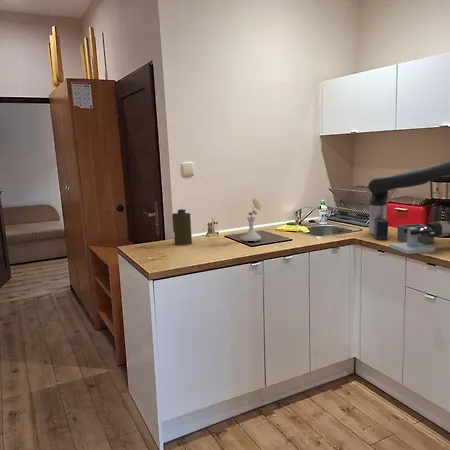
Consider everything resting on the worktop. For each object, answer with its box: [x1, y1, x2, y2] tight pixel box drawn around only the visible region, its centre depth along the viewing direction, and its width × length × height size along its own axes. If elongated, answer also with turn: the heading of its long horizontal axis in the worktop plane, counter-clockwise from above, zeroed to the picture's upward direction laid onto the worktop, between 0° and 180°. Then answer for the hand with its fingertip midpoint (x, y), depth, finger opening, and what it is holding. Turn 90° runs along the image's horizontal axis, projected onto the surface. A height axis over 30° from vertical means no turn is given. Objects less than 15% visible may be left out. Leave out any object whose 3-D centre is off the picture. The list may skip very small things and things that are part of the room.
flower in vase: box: [241, 197, 262, 242], centre depth 247 cm, size 13×11×25 cm
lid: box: [389, 227, 436, 255], centre depth 213 cm, size 15×15×11 cm
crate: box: [396, 223, 435, 244], centre depth 231 cm, size 13×13×8 cm
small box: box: [373, 218, 389, 241], centre depth 242 cm, size 11×6×10 cm, turn 168°
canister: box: [171, 208, 193, 247], centre depth 248 cm, size 11×10×20 cm
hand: (407, 231), depth 212 cm, fingers open, 4 cm apart
